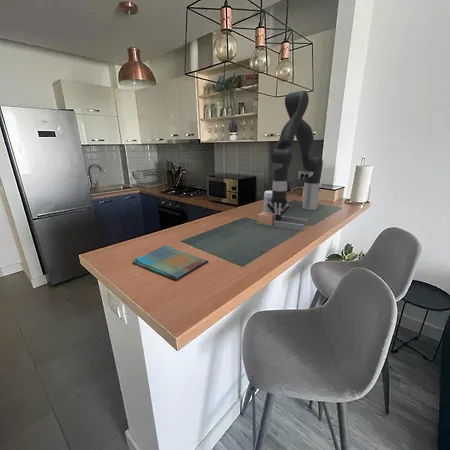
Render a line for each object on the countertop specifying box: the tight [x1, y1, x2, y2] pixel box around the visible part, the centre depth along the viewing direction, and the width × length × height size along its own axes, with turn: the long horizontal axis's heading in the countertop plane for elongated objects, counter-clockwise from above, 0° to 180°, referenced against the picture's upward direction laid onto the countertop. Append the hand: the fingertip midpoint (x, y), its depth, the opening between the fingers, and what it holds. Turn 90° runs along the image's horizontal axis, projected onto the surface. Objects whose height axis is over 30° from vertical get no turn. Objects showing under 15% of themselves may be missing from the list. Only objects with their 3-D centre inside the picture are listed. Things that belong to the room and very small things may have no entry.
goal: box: [255, 220, 274, 227], centre depth 138 cm, size 12×10×1 cm
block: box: [257, 211, 276, 225], centre depth 138 cm, size 7×8×5 cm
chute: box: [273, 215, 309, 232], centre depth 132 cm, size 11×15×3 cm
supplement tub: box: [262, 190, 275, 213], centre depth 148 cm, size 10×10×15 cm
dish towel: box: [132, 245, 209, 282], centre depth 93 cm, size 17×23×2 cm
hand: (277, 221), depth 135 cm, fingers closed
